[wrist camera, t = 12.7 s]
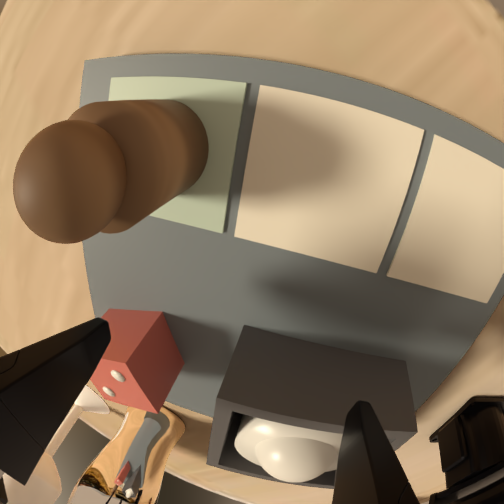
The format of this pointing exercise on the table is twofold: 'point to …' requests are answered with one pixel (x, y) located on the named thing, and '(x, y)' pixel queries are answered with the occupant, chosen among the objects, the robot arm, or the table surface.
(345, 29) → the table surface
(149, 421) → the beer glass
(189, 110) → the walnut pawn
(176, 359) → the red die
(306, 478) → the dome button
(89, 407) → the champagne flute
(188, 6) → the table surface
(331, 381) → the game board
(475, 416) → the robot arm
